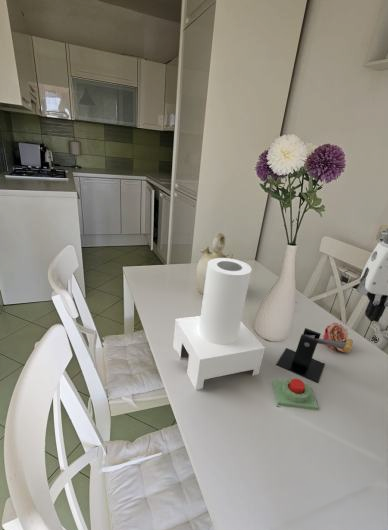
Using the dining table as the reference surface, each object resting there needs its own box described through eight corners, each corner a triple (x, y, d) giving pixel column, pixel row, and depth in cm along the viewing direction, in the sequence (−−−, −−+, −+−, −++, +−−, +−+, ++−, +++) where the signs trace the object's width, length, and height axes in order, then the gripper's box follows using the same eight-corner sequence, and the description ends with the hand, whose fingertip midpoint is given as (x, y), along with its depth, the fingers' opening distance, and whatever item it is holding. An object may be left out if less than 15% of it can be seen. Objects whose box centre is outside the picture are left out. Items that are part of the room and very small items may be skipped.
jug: (187, 287, 130) (192, 230, 118) (212, 280, 140) (220, 226, 128) (212, 302, 120) (221, 242, 109) (237, 293, 130) (248, 236, 118)
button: (301, 384, 79) (303, 379, 78) (304, 394, 76) (306, 389, 75) (287, 382, 79) (289, 377, 79) (290, 393, 76) (292, 387, 75)
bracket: (323, 366, 92) (336, 334, 86) (316, 385, 84) (330, 351, 79) (285, 350, 97) (294, 319, 92) (275, 367, 89) (285, 334, 84)
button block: (307, 388, 83) (311, 379, 81) (316, 412, 76) (320, 402, 74) (271, 384, 83) (274, 374, 81) (276, 407, 76) (279, 397, 74)
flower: (309, 338, 102) (326, 329, 95) (323, 325, 107) (340, 316, 100) (328, 362, 100) (347, 355, 94) (342, 347, 105) (360, 340, 98)
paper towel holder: (195, 390, 78) (210, 285, 64) (173, 346, 93) (181, 253, 79) (257, 376, 85) (283, 279, 71) (227, 337, 100) (243, 251, 86)
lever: (352, 345, 83) (353, 337, 82) (350, 354, 79) (351, 346, 78) (306, 338, 89) (306, 331, 88) (302, 346, 85) (302, 339, 84)
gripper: (376, 241, 57) (344, 323, 66) (456, 251, 57) (413, 331, 66) (360, 231, 64) (332, 306, 73) (431, 239, 64) (395, 314, 72)
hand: (371, 318), depth 69 cm, fingers closed
